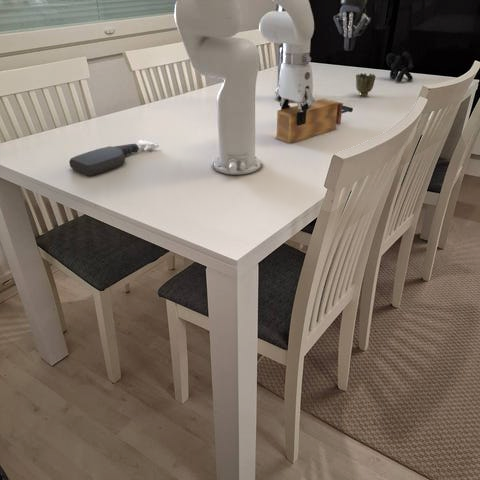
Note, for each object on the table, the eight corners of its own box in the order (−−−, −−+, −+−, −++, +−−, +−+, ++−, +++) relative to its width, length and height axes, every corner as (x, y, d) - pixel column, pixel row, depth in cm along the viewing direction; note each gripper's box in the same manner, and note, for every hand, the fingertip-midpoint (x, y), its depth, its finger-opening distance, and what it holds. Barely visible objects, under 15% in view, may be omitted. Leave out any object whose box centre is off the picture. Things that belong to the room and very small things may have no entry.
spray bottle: (67, 168, 120) (139, 144, 136) (91, 178, 114) (163, 151, 130) (65, 157, 118) (137, 134, 134) (89, 167, 112) (162, 142, 128)
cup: (351, 97, 177) (353, 76, 172) (356, 92, 182) (358, 72, 178) (370, 99, 174) (373, 77, 169) (374, 94, 179) (377, 73, 175)
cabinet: (321, 124, 148) (323, 98, 144) (335, 129, 144) (338, 102, 140) (276, 138, 138) (277, 110, 133) (290, 143, 134) (291, 114, 129)
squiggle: (400, 92, 202) (376, 71, 205) (417, 76, 202) (392, 56, 205) (405, 81, 191) (380, 59, 194) (423, 64, 191) (397, 42, 194)
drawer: (341, 117, 152) (343, 97, 148) (352, 120, 149) (354, 100, 145) (288, 132, 139) (288, 111, 136) (299, 136, 136) (300, 114, 132)
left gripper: (328, 61, 122) (322, 126, 131) (284, 53, 133) (282, 113, 143) (308, 65, 118) (304, 131, 127) (265, 56, 129) (265, 117, 139)
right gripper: (382, -15, 126) (373, 51, 135) (346, -16, 135) (340, 46, 144) (365, -14, 122) (357, 54, 131) (329, -15, 131) (324, 49, 140)
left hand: (293, 121), depth 135 cm, fingers closed on cabinet, 6 cm apart
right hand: (348, 50), depth 137 cm, fingers closed
